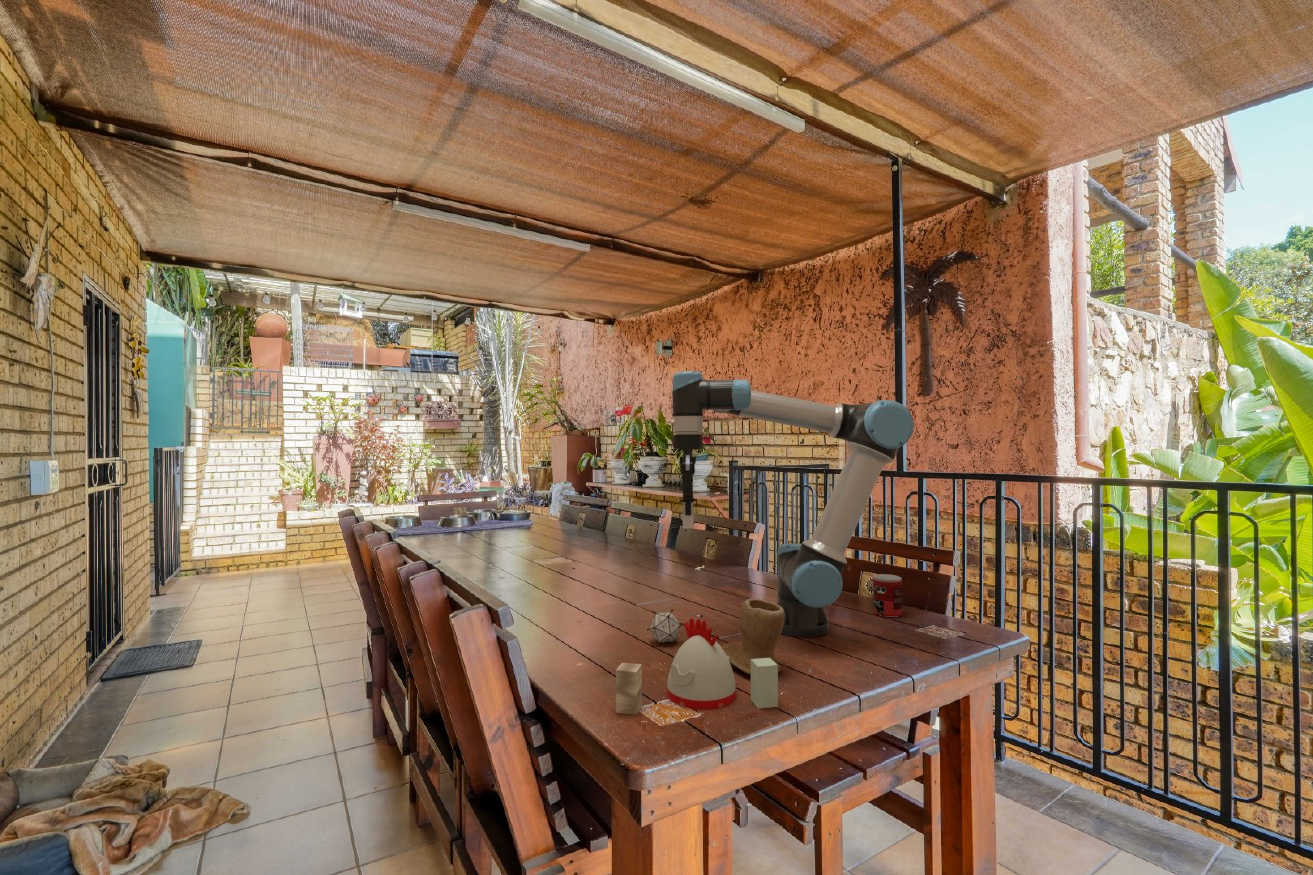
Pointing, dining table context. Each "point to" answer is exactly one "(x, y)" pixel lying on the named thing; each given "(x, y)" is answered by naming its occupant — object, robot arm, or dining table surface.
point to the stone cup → (756, 633)
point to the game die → (665, 627)
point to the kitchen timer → (701, 671)
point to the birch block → (629, 688)
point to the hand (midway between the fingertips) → (688, 527)
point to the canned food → (887, 595)
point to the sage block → (764, 683)
